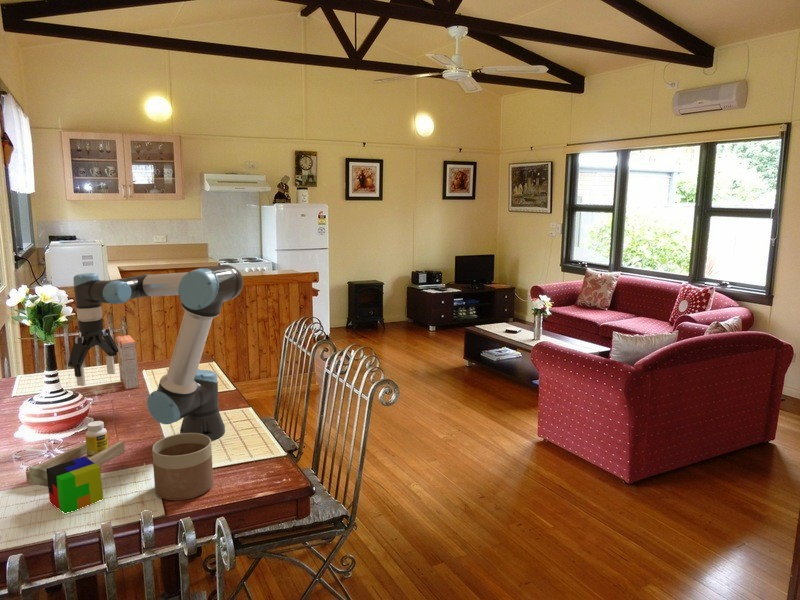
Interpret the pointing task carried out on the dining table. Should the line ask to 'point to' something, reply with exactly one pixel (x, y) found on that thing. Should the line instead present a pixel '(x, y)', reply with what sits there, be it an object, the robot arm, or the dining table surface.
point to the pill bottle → (96, 438)
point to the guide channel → (40, 474)
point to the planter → (182, 466)
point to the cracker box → (127, 362)
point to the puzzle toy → (74, 484)
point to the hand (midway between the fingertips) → (96, 379)
